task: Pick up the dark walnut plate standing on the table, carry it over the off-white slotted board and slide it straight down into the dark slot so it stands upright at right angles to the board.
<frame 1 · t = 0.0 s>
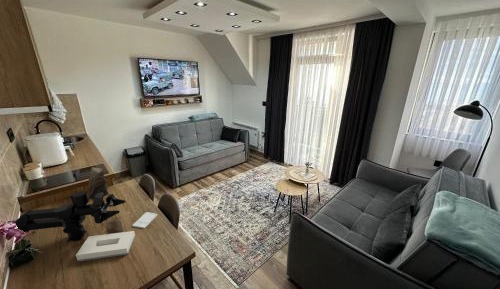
hand: (122, 206, 114), 17 cm above the table, fingers open, 9 cm apart
owl: (97, 194, 152), on the table
walnut plate: (116, 232, 117), on the table
external hard drive: (145, 221, 127), on the table
slotted board: (108, 248, 107), on the table
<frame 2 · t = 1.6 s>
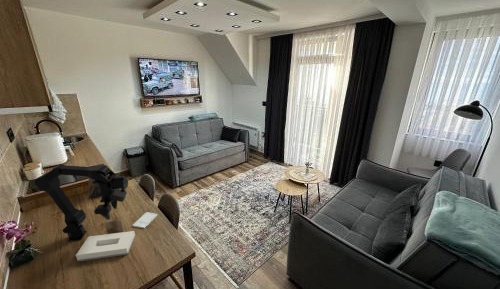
hand: (112, 213, 113), 13 cm above the table, fingers open, 9 cm apart
nothing on the table moved.
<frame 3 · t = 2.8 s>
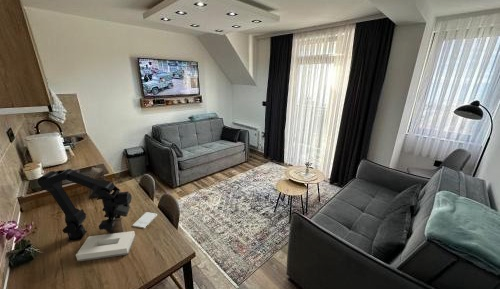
hand: (115, 227, 116), 4 cm above the table, fingers open, 9 cm apart
nothing on the table moved.
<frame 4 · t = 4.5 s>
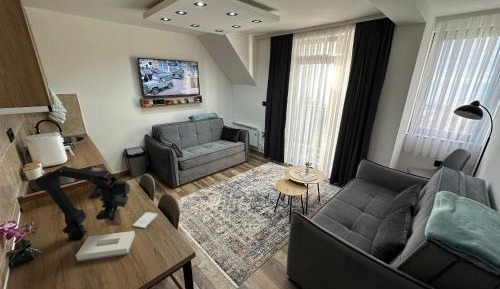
hand: (113, 218, 114), 10 cm above the table, fingers closed on walnut plate, 2 cm apart
walnut plate: (115, 224, 115), point 6 cm above the table, touching gripper
everything else where it was.
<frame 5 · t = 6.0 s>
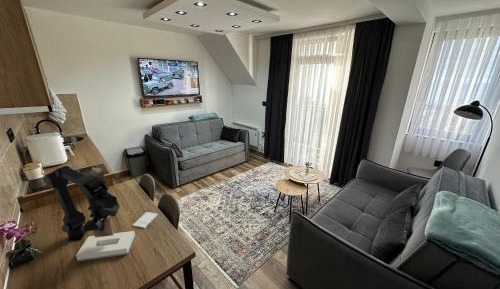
hand: (103, 229, 103), 12 cm above the table, fingers closed on walnut plate, 2 cm apart
walnut plate: (105, 234, 104), point 9 cm above the table, touching gripper
everything else where it was.
when the fingers open (5 cm above the table, at t = 8.4 s): walnut plate stays where it is, resting on slotted board.
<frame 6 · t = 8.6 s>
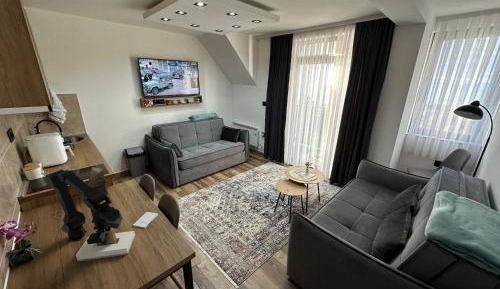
hand: (106, 240, 105), 5 cm above the table, fingers open, 4 cm apart
walnut plate: (108, 246, 107), point 1 cm above the table, touching slotted board
everything else where it was.
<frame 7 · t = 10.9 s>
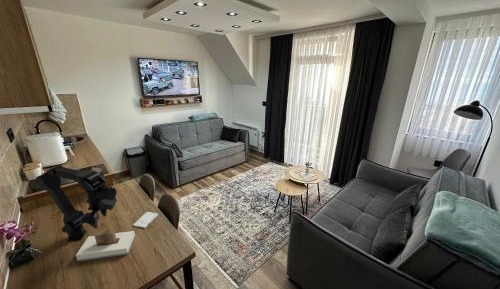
hand: (100, 221, 107), 13 cm above the table, fingers open, 9 cm apart
nothing on the table moved.
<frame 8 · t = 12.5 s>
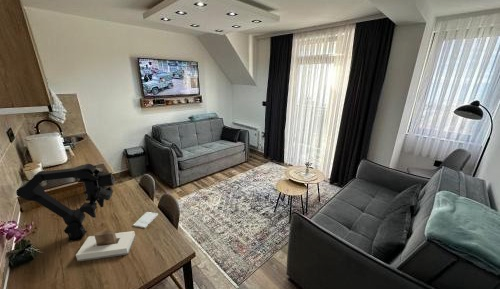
hand: (98, 212, 114), 13 cm above the table, fingers open, 9 cm apart
nothing on the table moved.
at the end: walnut plate 0.0 cm off-centre on the slotted board, point 1.0 cm above the slotted board's base; walnut plate tilted 0°; the gripper is holding nothing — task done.
